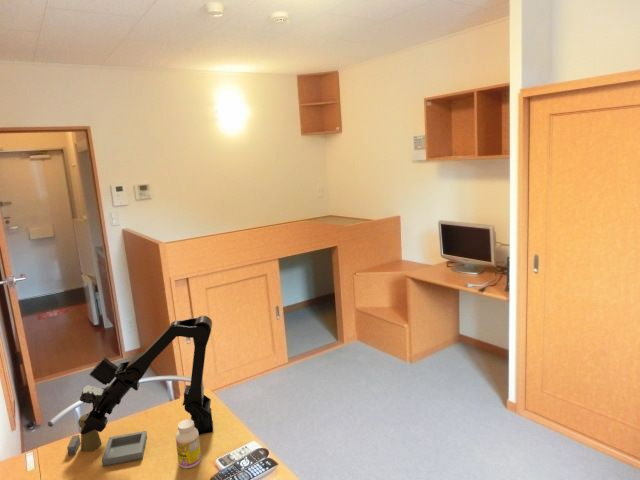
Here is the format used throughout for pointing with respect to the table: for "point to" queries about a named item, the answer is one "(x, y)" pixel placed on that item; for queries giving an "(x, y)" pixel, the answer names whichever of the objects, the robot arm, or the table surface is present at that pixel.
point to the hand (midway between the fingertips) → (83, 428)
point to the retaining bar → (73, 445)
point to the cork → (89, 438)
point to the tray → (124, 448)
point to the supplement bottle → (188, 444)
